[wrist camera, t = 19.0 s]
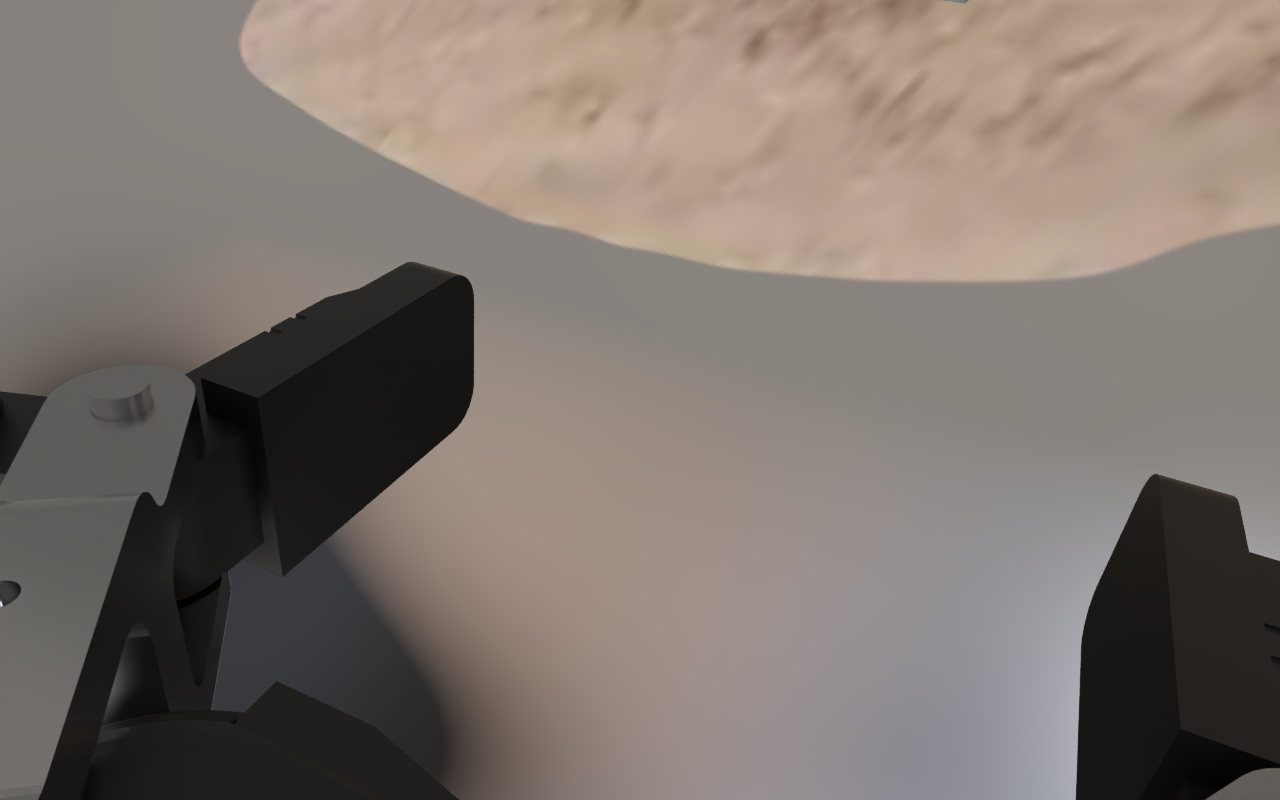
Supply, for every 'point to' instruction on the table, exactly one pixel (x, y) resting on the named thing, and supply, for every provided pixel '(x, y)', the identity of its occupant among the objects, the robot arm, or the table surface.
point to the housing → (960, 0)
